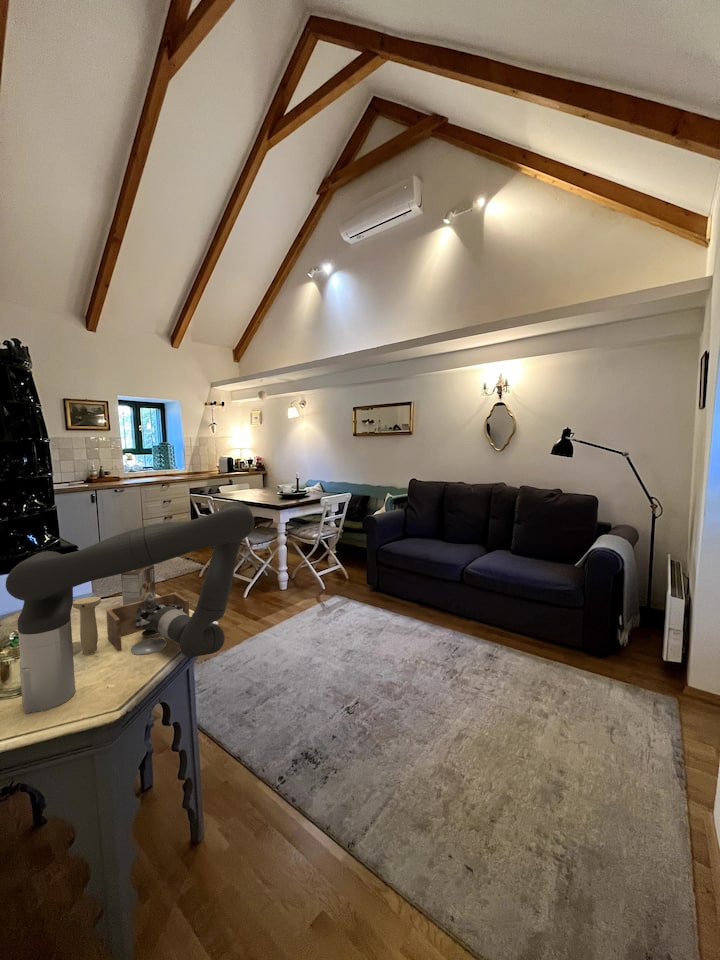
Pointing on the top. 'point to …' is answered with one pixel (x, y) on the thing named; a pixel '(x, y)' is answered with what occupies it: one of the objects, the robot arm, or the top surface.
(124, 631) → the walnut cubby
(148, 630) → the grey metal upright piece
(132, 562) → the robot arm
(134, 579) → the coffee box
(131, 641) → the top surface
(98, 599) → the turned wooden grip
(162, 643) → the coaster
